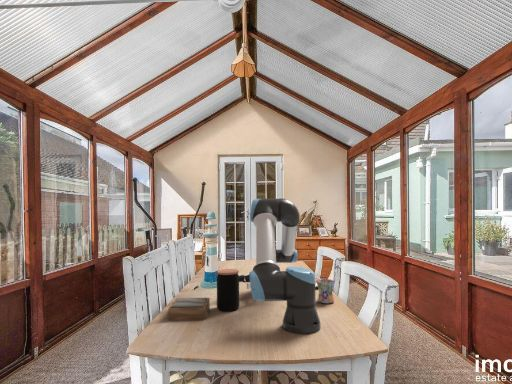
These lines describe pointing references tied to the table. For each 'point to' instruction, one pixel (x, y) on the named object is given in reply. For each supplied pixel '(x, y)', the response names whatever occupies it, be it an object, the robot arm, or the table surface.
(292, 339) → the table surface
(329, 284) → the mug
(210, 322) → the table surface
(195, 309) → the walnut stand
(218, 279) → the coffee jar
